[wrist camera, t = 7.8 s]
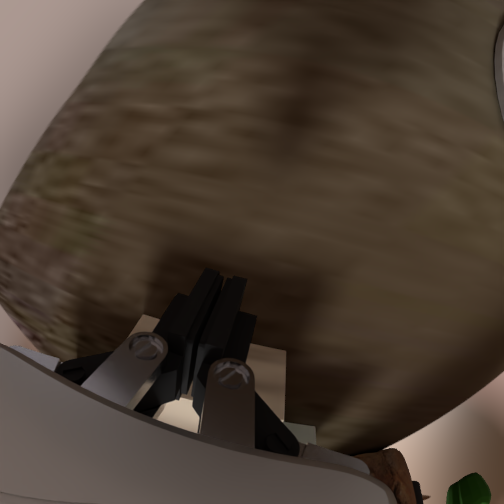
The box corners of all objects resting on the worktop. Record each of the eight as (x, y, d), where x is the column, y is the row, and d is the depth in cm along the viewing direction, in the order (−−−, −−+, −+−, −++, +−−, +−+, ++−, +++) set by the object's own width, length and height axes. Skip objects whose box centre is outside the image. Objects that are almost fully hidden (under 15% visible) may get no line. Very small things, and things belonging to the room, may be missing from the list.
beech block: (144, 312, 20) (105, 371, 14) (286, 349, 20) (284, 420, 14) (144, 384, 23) (119, 437, 18) (259, 414, 23) (251, 473, 18)
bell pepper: (457, 488, 32) (466, 528, 23) (433, 491, 31) (442, 536, 22) (491, 465, 29) (504, 507, 20) (471, 467, 28) (484, 514, 19)
